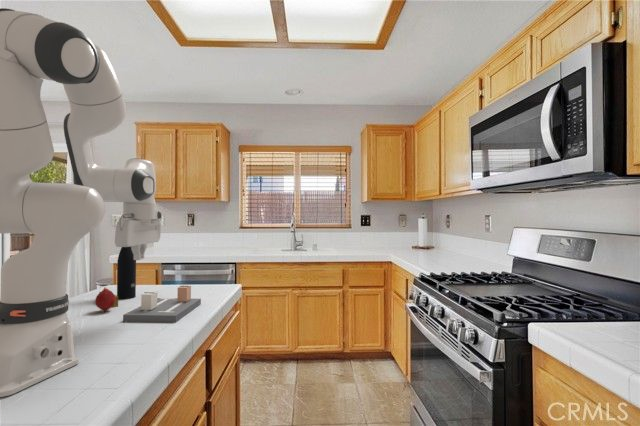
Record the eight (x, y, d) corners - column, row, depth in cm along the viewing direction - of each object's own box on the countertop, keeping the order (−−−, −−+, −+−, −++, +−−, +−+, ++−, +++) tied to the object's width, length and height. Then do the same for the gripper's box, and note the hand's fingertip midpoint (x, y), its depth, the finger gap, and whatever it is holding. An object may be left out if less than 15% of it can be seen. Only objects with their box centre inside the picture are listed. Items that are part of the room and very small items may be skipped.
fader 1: (151, 309, 113) (151, 293, 113) (141, 309, 113) (141, 293, 113) (157, 306, 117) (157, 291, 117) (147, 306, 117) (147, 291, 117)
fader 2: (186, 301, 124) (186, 287, 124) (177, 301, 124) (177, 287, 124) (190, 298, 128) (191, 284, 128) (181, 298, 128) (182, 284, 128)
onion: (119, 309, 122) (119, 285, 122) (107, 314, 116) (108, 289, 116) (103, 308, 122) (103, 285, 122) (90, 313, 116) (91, 288, 116)
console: (176, 322, 108) (176, 315, 108) (123, 321, 108) (123, 314, 108) (200, 304, 130) (200, 298, 130) (156, 303, 130) (156, 297, 130)
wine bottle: (119, 296, 141) (120, 219, 141) (137, 295, 143) (138, 220, 143) (115, 299, 135) (116, 220, 135) (133, 298, 137) (135, 220, 137)
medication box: (98, 302, 131) (98, 291, 131) (107, 301, 133) (106, 290, 133) (110, 308, 123) (110, 297, 123) (118, 307, 125) (118, 295, 125)
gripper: (131, 213, 98) (130, 264, 98) (164, 213, 118) (164, 255, 118) (108, 213, 98) (107, 264, 98) (145, 213, 118) (145, 255, 118)
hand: (138, 259), depth 108 cm, fingers closed
